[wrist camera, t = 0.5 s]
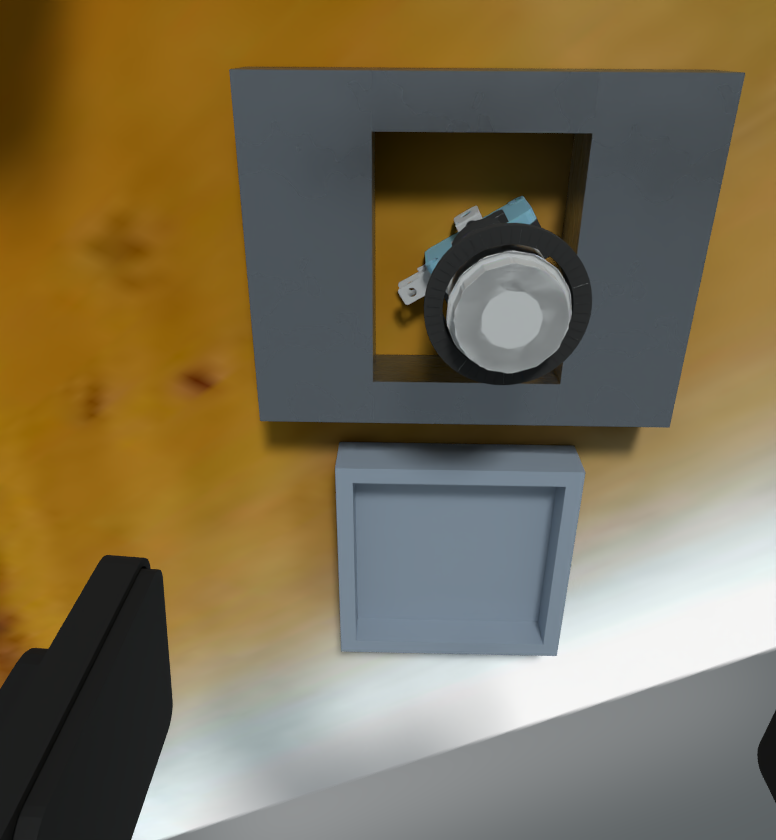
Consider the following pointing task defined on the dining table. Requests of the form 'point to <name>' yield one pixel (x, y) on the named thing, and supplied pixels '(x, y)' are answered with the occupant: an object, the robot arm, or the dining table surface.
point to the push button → (502, 296)
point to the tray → (455, 546)
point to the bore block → (583, 231)
